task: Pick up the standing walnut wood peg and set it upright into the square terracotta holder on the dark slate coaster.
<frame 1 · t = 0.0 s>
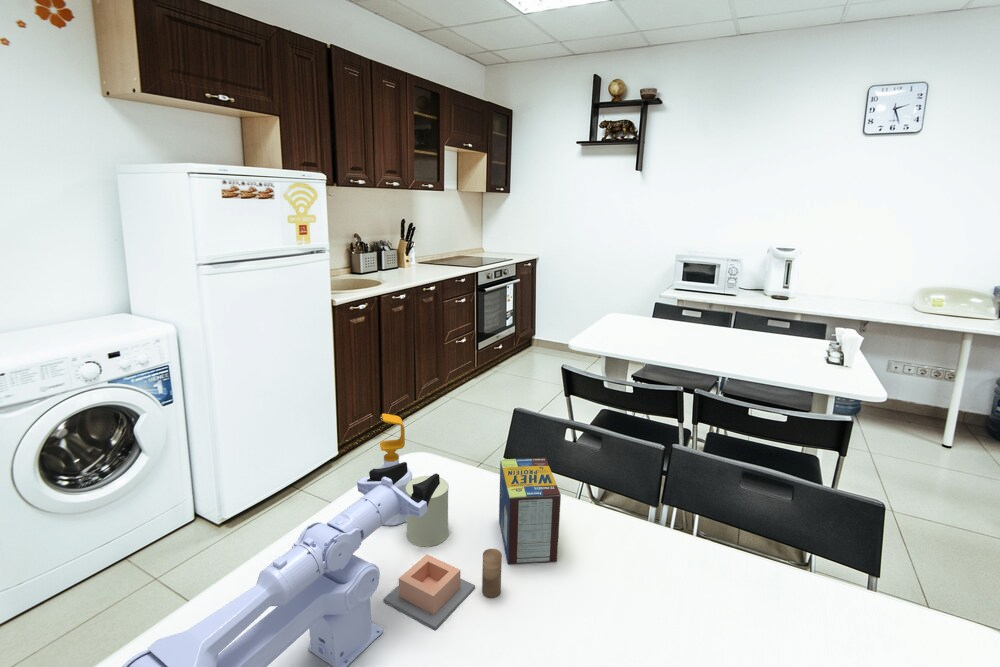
hand: (421, 472, 99), 22 cm above the table, tool horizontal, fingers open, 7 cm apart
terracotta holder: (430, 594, 99), on the table
can: (427, 534, 117), on the table
protein box: (526, 540, 116), on the table
walnut peg: (491, 591, 100), on the table
soap bottle: (393, 515, 123), on the table
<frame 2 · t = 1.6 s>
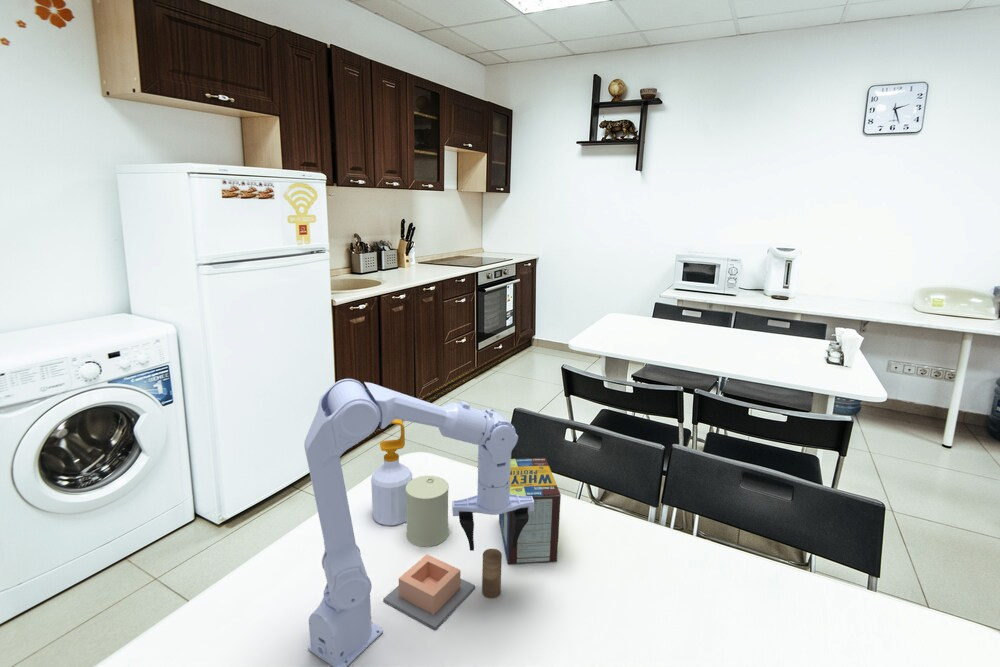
hand: (492, 545, 98), 10 cm above the table, tool pointing down, fingers open, 7 cm apart
nothing on the table moved.
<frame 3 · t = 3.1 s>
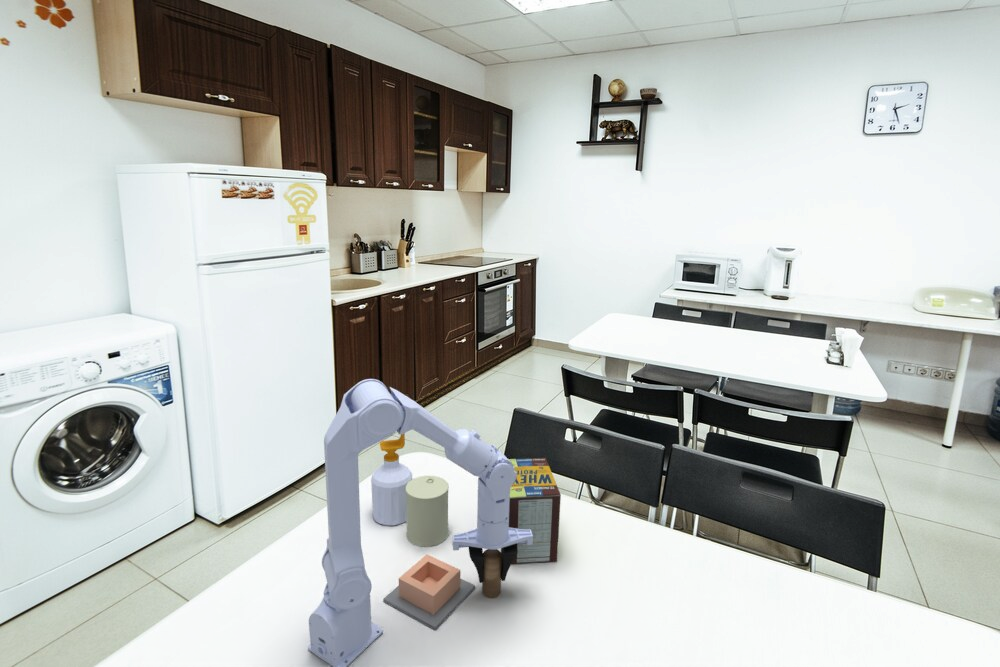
hand: (491, 578, 100), 3 cm above the table, tool pointing down, fingers closed on walnut peg, 3 cm apart
walnut peg: (491, 591, 101), on the table, touching gripper
everything else where it was.
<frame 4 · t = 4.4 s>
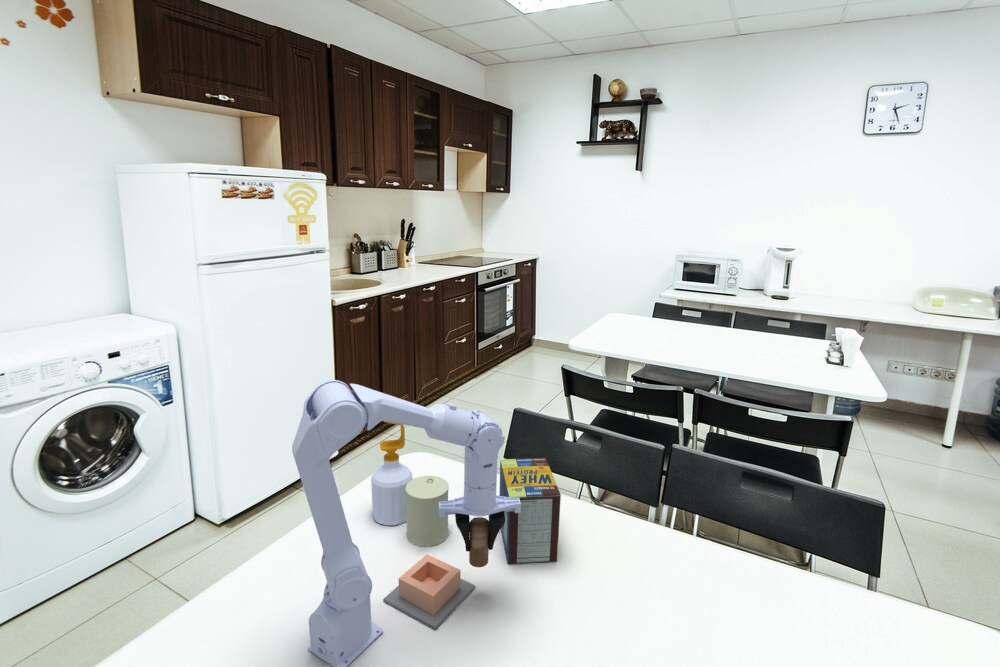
hand: (478, 547, 98), 10 cm above the table, tool pointing down, fingers closed on walnut peg, 3 cm apart
walnut peg: (478, 560, 98), point 7 cm above the table, touching gripper
everything else where it was.
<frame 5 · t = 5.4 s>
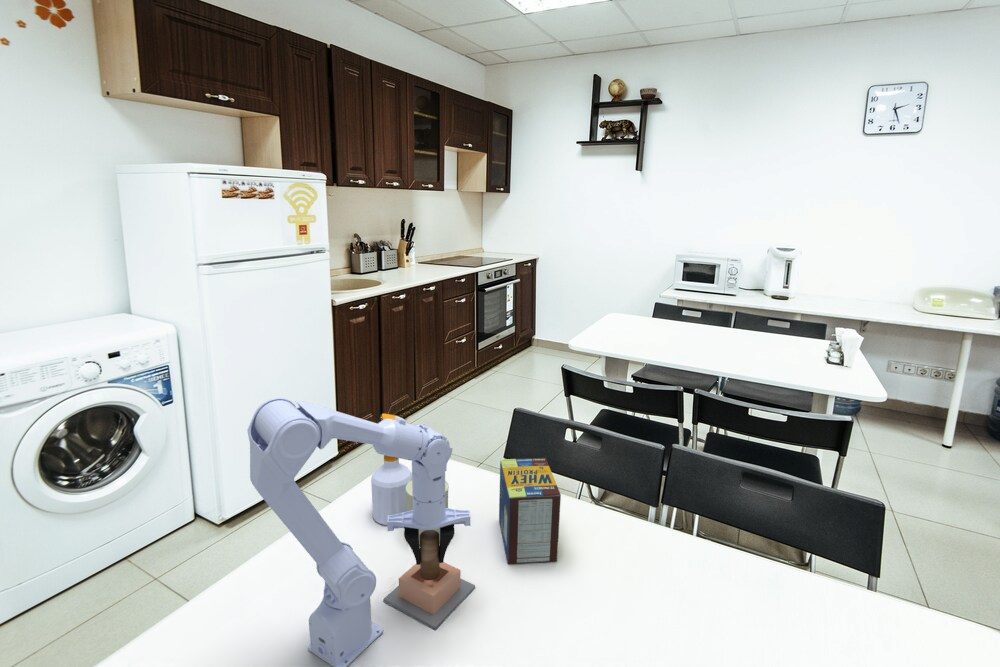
hand: (429, 560, 97), 7 cm above the table, tool pointing down, fingers closed on walnut peg, 3 cm apart
walnut peg: (430, 573, 98), point 5 cm above the table, touching gripper
everything else where it was.
when the fingers open (6 cm above the table, at t = 6.1 s): walnut peg drops 1 cm, resting on terracotta holder.
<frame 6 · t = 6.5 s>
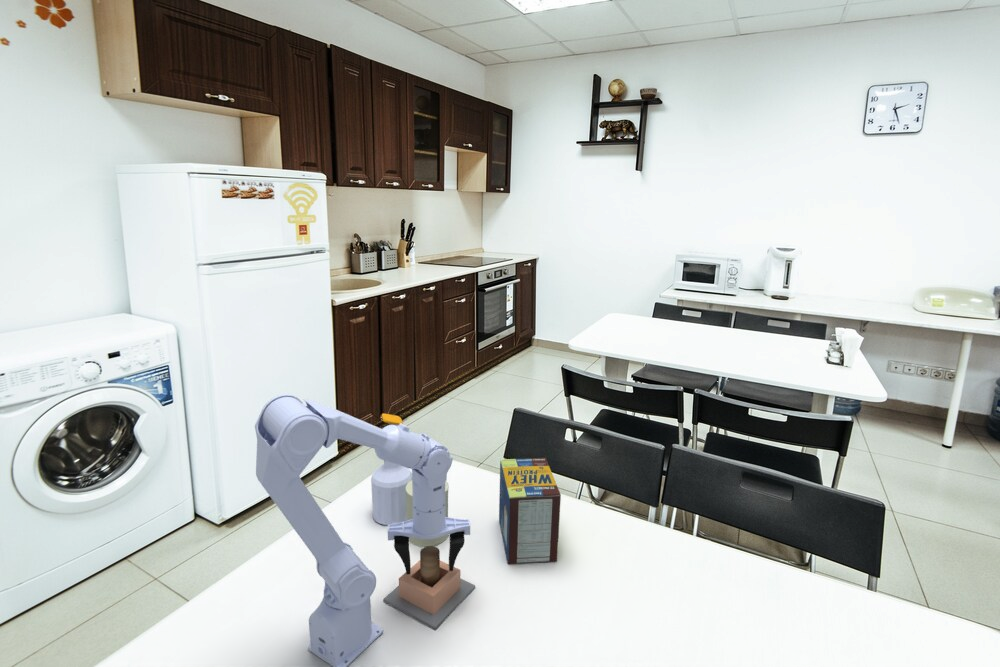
hand: (429, 568, 98), 6 cm above the table, tool pointing down, fingers open, 7 cm apart
walnut peg: (430, 589, 99), point 1 cm above the table, touching terracotta holder
everything else where it was.
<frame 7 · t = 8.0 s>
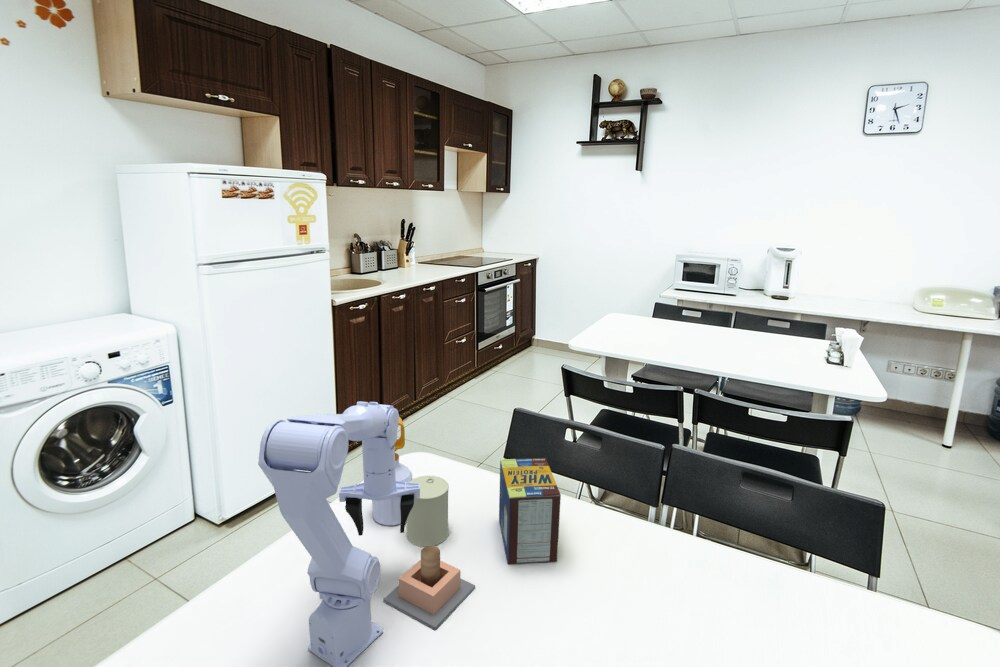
hand: (381, 530, 101), 10 cm above the table, tool pointing down, fingers open, 7 cm apart
nothing on the table moved.
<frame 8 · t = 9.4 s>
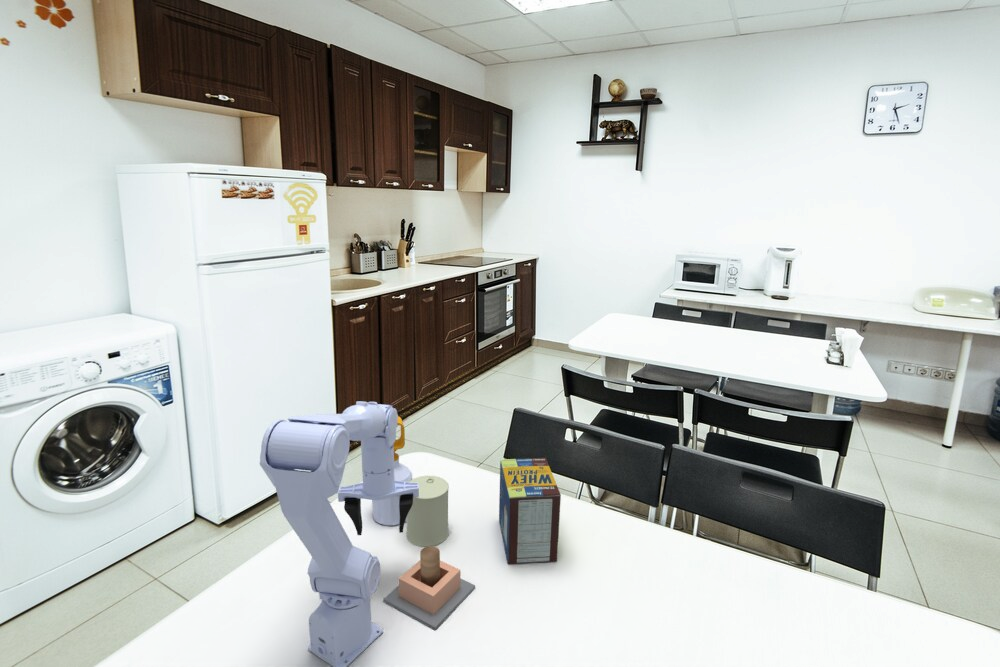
hand: (380, 530, 101), 10 cm above the table, tool pointing down, fingers open, 7 cm apart
nothing on the table moved.
at the end: walnut peg 0.1 cm off-centre on the terracotta holder, point 1.2 cm above the terracotta holder's base; walnut peg tilted 1°; the gripper is holding nothing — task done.
